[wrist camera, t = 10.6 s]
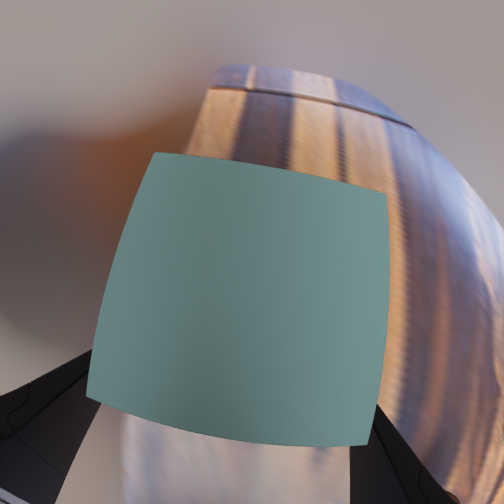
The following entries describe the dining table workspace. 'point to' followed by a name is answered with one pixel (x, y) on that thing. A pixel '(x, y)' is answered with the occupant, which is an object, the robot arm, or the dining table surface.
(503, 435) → the reusable coffee cup
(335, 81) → the dining table surface
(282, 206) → the teal pillar
